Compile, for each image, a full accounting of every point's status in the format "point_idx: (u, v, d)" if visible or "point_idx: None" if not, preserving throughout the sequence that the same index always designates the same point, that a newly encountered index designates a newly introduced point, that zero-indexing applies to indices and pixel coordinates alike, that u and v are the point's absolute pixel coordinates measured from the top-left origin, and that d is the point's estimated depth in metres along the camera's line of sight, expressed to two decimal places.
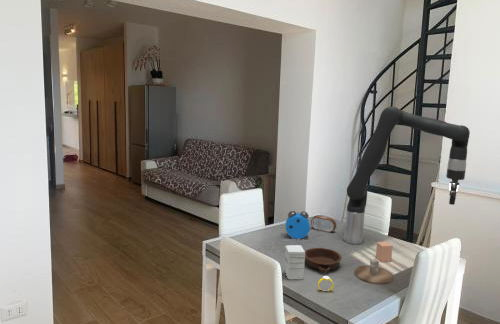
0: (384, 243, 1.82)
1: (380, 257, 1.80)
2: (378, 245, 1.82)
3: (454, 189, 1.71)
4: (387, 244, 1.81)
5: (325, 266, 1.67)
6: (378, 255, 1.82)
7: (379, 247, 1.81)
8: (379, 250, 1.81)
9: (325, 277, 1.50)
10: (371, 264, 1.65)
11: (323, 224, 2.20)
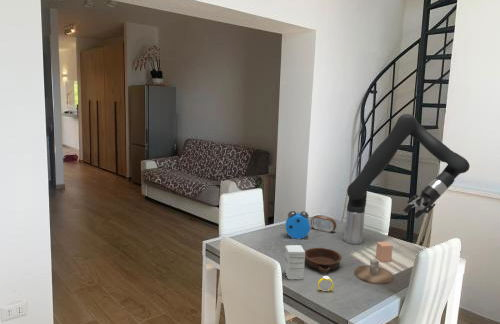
0: (384, 243, 1.82)
1: (380, 257, 1.80)
2: (378, 245, 1.82)
3: (430, 207, 1.74)
4: (387, 244, 1.81)
5: (325, 266, 1.67)
6: (378, 255, 1.82)
7: (379, 247, 1.81)
8: (379, 250, 1.81)
9: (325, 277, 1.50)
10: (371, 264, 1.65)
11: (323, 224, 2.20)
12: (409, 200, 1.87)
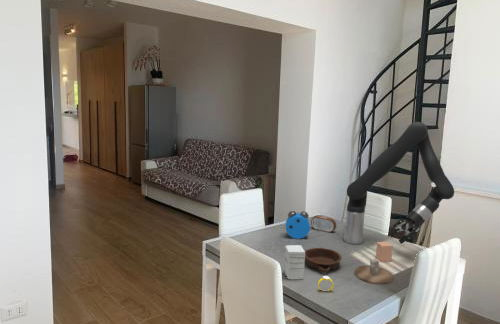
0: (384, 243, 1.82)
1: (380, 257, 1.80)
2: (378, 245, 1.82)
3: (415, 233, 1.75)
4: (387, 244, 1.81)
5: (325, 266, 1.67)
6: (378, 255, 1.82)
7: (379, 247, 1.81)
8: (379, 250, 1.81)
9: (325, 277, 1.50)
10: (371, 264, 1.65)
11: (323, 224, 2.20)
12: (395, 224, 1.88)
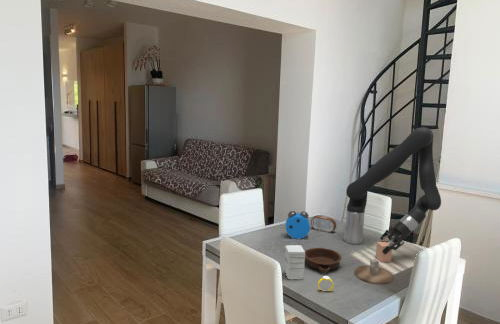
0: (384, 243, 1.82)
1: (380, 257, 1.80)
2: (378, 245, 1.82)
3: (399, 245, 1.76)
4: (387, 244, 1.81)
5: (325, 266, 1.67)
6: (378, 255, 1.82)
7: (379, 247, 1.81)
8: (379, 250, 1.81)
9: (325, 277, 1.50)
10: (371, 264, 1.65)
11: (323, 224, 2.20)
12: (382, 236, 1.87)
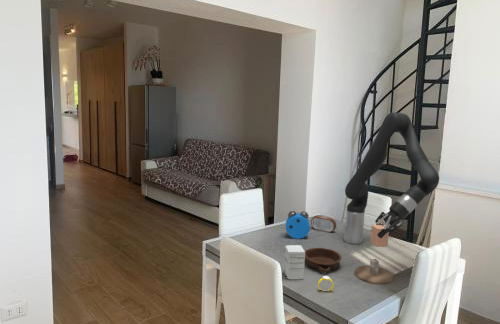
0: (380, 226, 1.65)
1: (375, 241, 1.63)
2: (373, 228, 1.65)
3: (396, 227, 1.58)
4: (383, 227, 1.63)
5: (325, 266, 1.67)
6: (373, 239, 1.65)
7: (375, 230, 1.63)
8: (374, 234, 1.64)
9: (325, 277, 1.50)
10: (371, 264, 1.65)
11: (323, 224, 2.20)
12: (377, 219, 1.69)
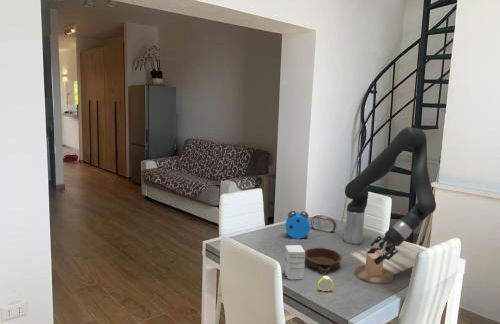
0: (374, 255, 1.65)
1: (370, 270, 1.64)
2: (368, 257, 1.65)
3: (392, 254, 1.58)
4: None
5: (325, 266, 1.67)
6: (368, 268, 1.65)
7: (369, 259, 1.64)
8: (369, 263, 1.64)
9: (325, 277, 1.50)
10: None
11: (323, 224, 2.20)
12: (372, 243, 1.70)
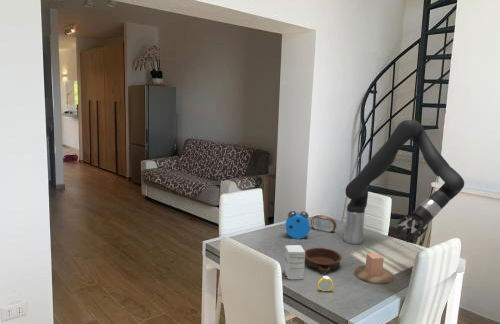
0: (374, 255, 1.65)
1: (370, 270, 1.64)
2: (368, 257, 1.65)
3: (422, 231, 1.58)
4: (378, 256, 1.64)
5: (325, 266, 1.67)
6: (368, 268, 1.65)
7: (369, 259, 1.64)
8: (369, 263, 1.64)
9: (325, 277, 1.50)
10: None
11: (323, 224, 2.20)
12: (400, 221, 1.71)
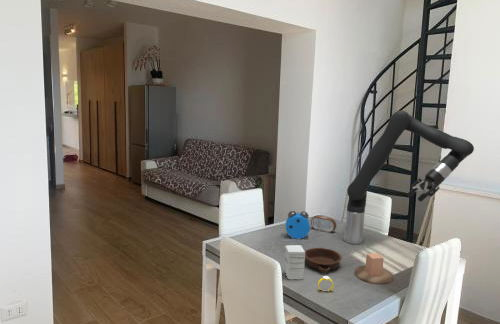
0: (374, 255, 1.65)
1: (370, 270, 1.64)
2: (368, 257, 1.65)
3: (435, 190, 1.72)
4: (378, 256, 1.64)
5: (325, 266, 1.67)
6: (368, 268, 1.65)
7: (369, 259, 1.64)
8: (369, 263, 1.64)
9: (325, 277, 1.50)
10: None
11: (323, 224, 2.20)
12: (413, 184, 1.85)
